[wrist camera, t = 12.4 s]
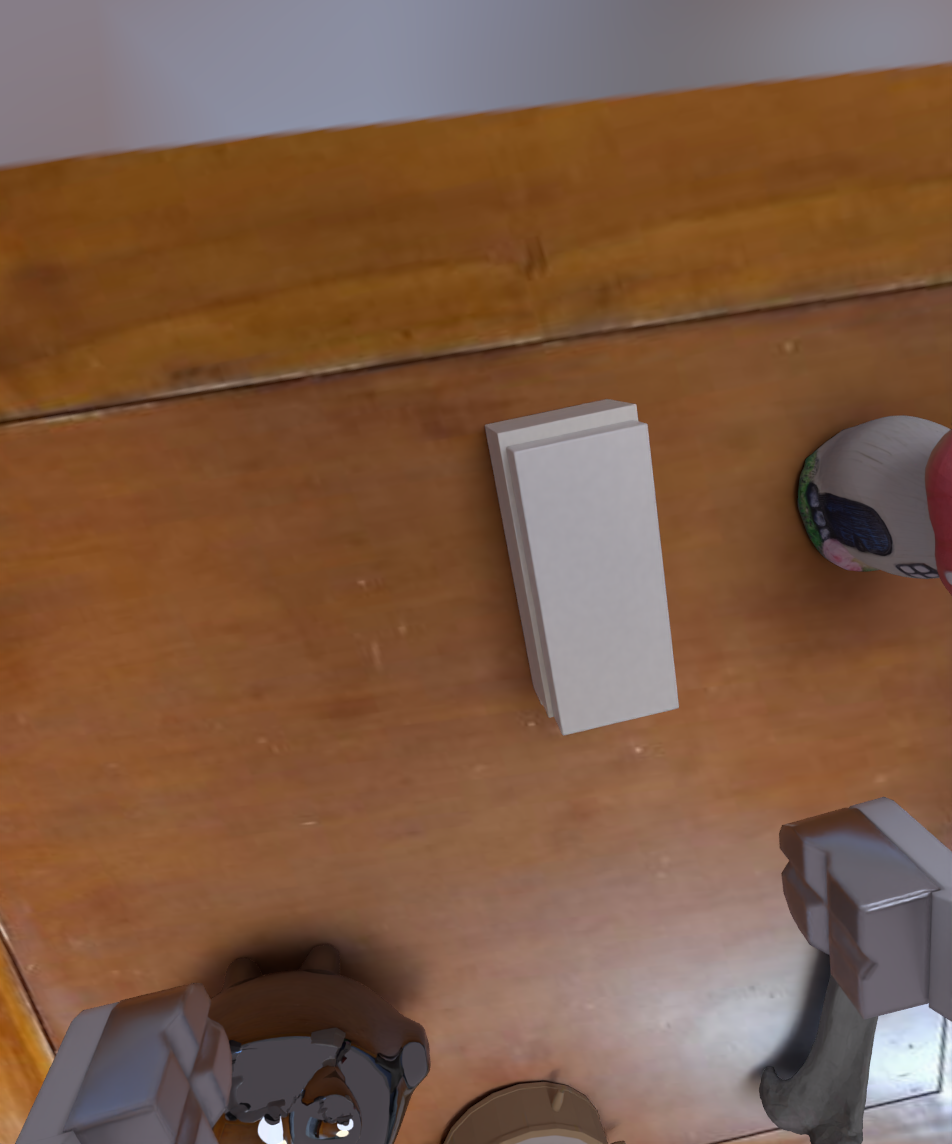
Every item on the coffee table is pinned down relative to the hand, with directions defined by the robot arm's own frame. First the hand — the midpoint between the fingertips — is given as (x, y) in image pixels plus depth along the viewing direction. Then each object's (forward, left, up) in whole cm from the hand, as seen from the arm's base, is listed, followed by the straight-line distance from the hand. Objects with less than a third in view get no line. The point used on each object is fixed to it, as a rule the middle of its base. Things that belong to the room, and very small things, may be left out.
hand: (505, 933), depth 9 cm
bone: (+35, +19, -25) cm, 47 cm away
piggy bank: (+26, -13, -25) cm, 39 cm away
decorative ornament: (+3, +22, -25) cm, 34 cm away
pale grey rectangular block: (+3, +7, -21) cm, 22 cm away
